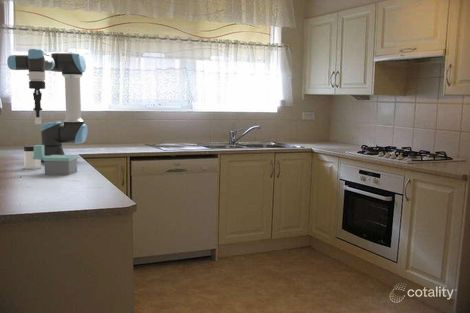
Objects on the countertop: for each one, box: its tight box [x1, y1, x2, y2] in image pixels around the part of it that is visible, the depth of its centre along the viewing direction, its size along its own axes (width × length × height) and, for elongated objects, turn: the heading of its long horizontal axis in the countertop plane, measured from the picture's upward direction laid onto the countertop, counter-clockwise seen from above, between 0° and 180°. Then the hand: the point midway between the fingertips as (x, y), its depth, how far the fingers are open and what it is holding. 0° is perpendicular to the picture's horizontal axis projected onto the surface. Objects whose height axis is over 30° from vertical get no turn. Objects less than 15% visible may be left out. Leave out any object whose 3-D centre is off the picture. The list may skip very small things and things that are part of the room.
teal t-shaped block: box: [33, 144, 79, 162], centre depth 252 cm, size 13×20×8 cm, turn 89°
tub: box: [43, 158, 78, 176], centre depth 252 cm, size 12×12×7 cm
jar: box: [22, 144, 42, 170], centre depth 269 cm, size 9×8×12 cm
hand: (38, 123), depth 250 cm, fingers open, 13 cm apart
